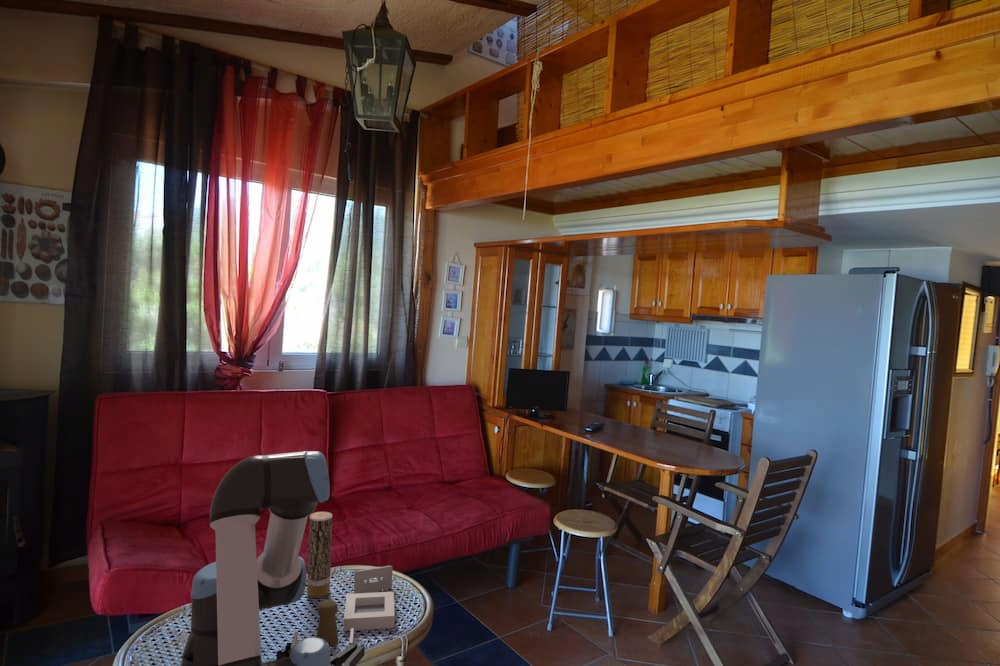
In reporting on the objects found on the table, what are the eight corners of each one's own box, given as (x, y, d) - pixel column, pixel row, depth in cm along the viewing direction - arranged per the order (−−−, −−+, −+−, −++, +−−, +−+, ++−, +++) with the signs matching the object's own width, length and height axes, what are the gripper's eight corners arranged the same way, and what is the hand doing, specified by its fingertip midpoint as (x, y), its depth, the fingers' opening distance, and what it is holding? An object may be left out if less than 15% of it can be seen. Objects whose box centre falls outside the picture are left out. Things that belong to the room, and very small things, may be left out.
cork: (331, 650, 152) (332, 610, 152) (310, 647, 153) (312, 606, 153) (342, 638, 158) (343, 598, 158) (322, 634, 159) (323, 595, 159)
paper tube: (323, 586, 186) (326, 510, 185) (333, 594, 181) (336, 516, 180) (303, 592, 181) (305, 514, 180) (312, 601, 176) (315, 521, 175)
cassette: (354, 596, 181) (355, 572, 180) (353, 593, 182) (354, 570, 182) (392, 590, 186) (393, 566, 185) (390, 587, 187) (391, 564, 187)
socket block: (343, 631, 161) (343, 618, 161) (346, 605, 175) (346, 593, 175) (394, 627, 164) (394, 615, 164) (393, 602, 178) (393, 591, 178)
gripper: (252, 712, 122) (271, 653, 143) (373, 701, 127) (374, 646, 148) (253, 677, 122) (272, 624, 143) (374, 668, 127) (375, 617, 148)
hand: (324, 635), depth 146 cm, fingers open, 13 cm apart
